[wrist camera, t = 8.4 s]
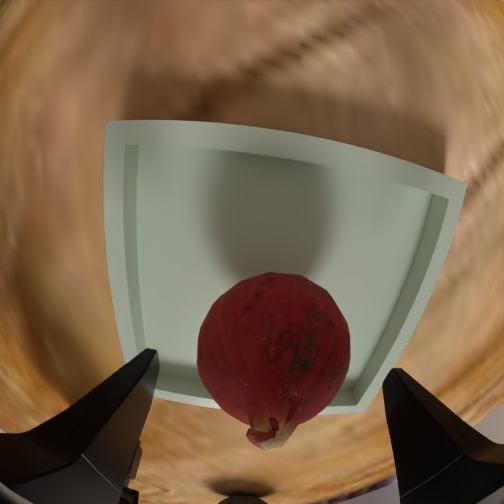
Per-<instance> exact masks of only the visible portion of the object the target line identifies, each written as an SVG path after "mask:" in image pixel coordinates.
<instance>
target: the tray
mask: <svg viewBox="0 0 504 504" xmlns="http://www.w3.org/2000/svg"><path fill="white" fill-rule="evenodd" d="M466 188H467V184H466V183H464V182H461V181H459V180H456V179H454V178H452V177H449V176H447V175H444V174H442V173H439V172H436V171H434V170H431V169H428V168H426V167H423V166H420V165H417V164H414V163H411V162H408V161H405V160H402V159H399V158H396V157H393V156H389V155H386V154H383V153H379V152H376V151H372V150H368V149H365V148H361V147H357V146H353V145H349V144H345V143H341V142H337V141H332V140H328V139H323V138H319V137H314V136H309V135H303V134H298V133H292V132H287V131H280V130H274V129H267V128H260V127H252V126H244V125H235V124H225V123H214V122H199V121H179V120H121V121H107V123H106V135H105V151H104V224H105V240H106V252H107V263H108V272H109V280H110V288H111V295H112V301H113V307H114V313H115V319H116V324H117V329H118V334H119V339H120V344H121V348H122V353H123V357H124V361H125V364H126V363H128V362H129V361H130V360H131V359H133V358H134V357H135V356H137V355H138V354H139V353H140V352H142V351H143V350H144V349H146V348H151V349H156V350H157V351H158V355H159V363H160V369H159V374H158V378H157V382H156V386H155V391H154V395H153V397H157V398H162V399H166V400H171V401H176V402H181V403H186V404H192V405H198V406H204V407H211V408H218V409H221V408H220V406H219V405H218V404H217V403H216V402H215V401H214V399H213V398H212V396H211V395H210V393H209V392H208V390H207V389H206V387H205V386H204V384H203V382H202V380H201V378H200V376H199V373H198V368H197V344H198V336H199V331H200V327H201V325H202V323H203V321H204V319H205V317H206V315H207V313H208V311H209V309H210V308H211V306H212V304H213V303H214V302H215V301H216V300H217V299H218V298H219V297H220V296H221V295H222V294H224V293H225V292H226V291H228V290H229V289H230V288H232V287H233V286H234V285H236V284H237V283H238V282H240V281H242V280H245V279H248V278H251V277H254V276H257V275H261V274H264V273H267V272H276V273H286V274H296V275H302V276H304V277H305V278H307V279H309V280H310V281H312V282H314V283H316V284H317V285H319V286H321V287H322V288H324V289H326V290H327V291H328V292H329V294H330V295H331V296H332V298H333V299H334V301H335V302H336V304H337V306H338V307H339V309H340V311H341V312H342V314H343V316H344V318H345V319H346V321H347V323H348V327H349V332H350V346H351V359H350V365H349V370H348V373H347V375H346V377H345V380H344V382H343V384H342V386H341V387H340V389H339V391H338V393H337V395H336V396H335V398H334V399H333V400H332V402H331V403H330V404H329V405H328V406H327V407H326V408H325V409H324V410H323V411H321V412H320V413H319V414H317V415H323V414H347V413H361V412H364V411H365V410H366V408H367V407H368V405H369V404H370V403H371V401H372V400H373V398H374V397H375V395H376V394H377V393H378V391H379V390H380V388H381V387H382V384H383V381H384V379H385V377H386V376H387V374H388V373H389V371H390V370H391V369H392V368H394V366H395V364H396V363H397V361H398V359H399V358H400V356H401V354H402V352H403V351H404V349H405V347H406V345H407V343H408V342H409V340H410V338H411V336H412V334H413V332H414V330H415V328H416V326H417V324H418V323H419V320H420V318H421V316H422V314H423V312H424V310H425V308H426V306H427V304H428V301H429V299H430V297H431V295H432V292H433V290H434V288H435V285H436V283H437V281H438V278H439V276H440V273H441V270H442V268H443V265H444V263H445V260H446V257H447V254H448V251H449V249H450V246H451V243H452V240H453V236H454V233H455V230H456V227H457V223H458V220H459V216H460V213H461V209H462V205H463V201H464V197H465V193H466Z"/></svg>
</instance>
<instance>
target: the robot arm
mask: <svg viewBox="0 0 504 504" xmlns="http://www.w3.org/2000/svg"><path fill="white" fill-rule="evenodd" d="M159 369H160V363H159V355H158V351H157V350H156V349H151V348H146V349H144V350H143V351H142V352H140V353H139V354H138V355H137V356H135V357H134V358H133V359H131V360H130V361H129V362H128V363H126V364H125V365H124V366H122V367H121V368H120V369H119V370H117V371H116V372H115V373H113V374H112V375H111V376H110V377H108V378H107V379H106V380H104V381H103V382H102V383H100V384H99V385H98V386H97V387H95V388H94V389H93V390H91V391H90V392H89V393H87V394H86V395H85V396H84V397H83V398H81V399H79V400H78V401H77V402H76V403H74V404H73V405H71V406H70V407H69V408H67V409H66V410H64V411H63V412H61V413H59V414H58V415H56V416H55V417H53V418H51V419H49V420H48V421H46V422H44V423H42V424H40V425H39V426H37V427H35V428H33V429H31V430H29V431H27V432H23V433H0V504H138V498H139V491H136V490H132V489H129V488H128V484H129V481H130V479H132V480H134V479H135V477H136V474H137V470H138V466H139V463H140V459H141V456H142V451H141V448H140V446H139V444H138V441H139V438H140V435H141V432H142V429H143V427H144V424H145V421H146V418H147V415H148V413H149V410H150V407H151V404H152V399H153V395H154V391H155V386H156V382H157V378H158V374H159ZM382 388H383V396H384V404H385V413H386V419H387V424H388V429H389V434H390V439H391V444H392V450H393V455H394V461H395V467H396V474H397V481H398V488H399V495H400V504H504V444H497V443H494V442H492V441H491V440H489V439H488V438H486V437H485V436H483V435H482V434H481V433H479V432H478V431H476V430H475V429H474V428H472V427H471V426H469V425H468V424H467V423H466V422H464V421H463V420H462V419H461V418H460V417H458V416H457V415H455V413H454V412H452V411H451V410H450V409H449V408H448V407H447V406H445V405H444V404H443V403H442V402H441V401H439V400H438V399H437V398H436V397H435V396H434V395H432V394H431V393H430V392H429V391H428V390H426V389H425V388H424V387H423V386H422V385H421V384H419V383H418V382H417V381H416V380H415V379H413V378H412V377H411V376H410V375H409V374H407V373H406V372H405V371H404V370H403V369H401V368H392V369H391V370H390V371H389V373H388V374H387V376H386V377H385V379H384V381H383V384H382Z"/></svg>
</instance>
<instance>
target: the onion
mask: <svg viewBox="0 0 504 504" xmlns="http://www.w3.org/2000/svg"><path fill="white" fill-rule="evenodd" d="M350 359H351V346H350V332H349V327H348V323H347V321H346V319H345V318H344V316H343V314H342V312H341V311H340V309H339V307H338V306H337V304H336V302H335V301H334V299H333V298H332V296H331V295H330V294H329V292H328V291H327V290H326V289H324V288H322V287H321V286H319V285H317V284H316V283H314V282H312V281H310V280H309V279H307V278H305V277H304V276H302V275H296V274H286V273H276V272H267V273H264V274H261V275H257V276H254V277H251V278H248V279H245V280H242V281H240V282H238V283H237V284H236V285H234V286H233V287H232V288H230V289H229V290H228V291H226V292H225V293H224V294H222V295H221V296H220V297H219V298H218V299H217V300H216V301H215V302H214V303H213V304H212V306H211V308H210V309H209V311H208V313H207V315H206V317H205V319H204V321H203V323H202V325H201V327H200V331H199V336H198V344H197V368H198V373H199V376H200V378H201V380H202V382H203V384H204V386H205V387H206V389H207V390H208V392H209V393H210V395H211V396H212V398H213V399H214V401H215V402H216V403H217V404H218V405H219V406H220V408H221V409H223V410H224V411H225V412H226V413H228V414H229V415H231V416H232V417H234V418H236V419H237V420H239V421H241V422H243V423H245V424H247V425H250V427H251V428H250V429H248V431H247V434H246V436H247V438H248V439H249V441H250V442H252V443H253V444H254V445H255V446H257V447H258V448H260V449H262V450H268V449H271V448H276V447H282V446H283V445H284V443H285V442H286V441H287V439H288V438H289V437H290V435H291V434H292V433H293V431H294V430H295V429H296V427H297V426H298V425H299V424H302V423H304V422H306V421H308V420H310V419H312V418H313V417H314V416H316V415H317V414H319V413H320V412H321V411H323V410H324V409H325V408H326V407H327V406H328V405H329V404H330V403H331V402H332V400H333V399H334V398H335V396H336V395H337V393H338V391H339V389H340V387H341V386H342V384H343V382H344V380H345V377H346V375H347V373H348V370H349V365H350Z"/></svg>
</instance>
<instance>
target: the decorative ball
mask: <svg viewBox="0 0 504 504" xmlns="http://www.w3.org/2000/svg"><path fill="white" fill-rule="evenodd" d="M218 504H267V503H266V502H265V501H263V500H261V499H259V498H257V497H254V496H249V495H236V496H232V497H228V498H226V499H224V500H222V501H221V502H219V503H218Z"/></svg>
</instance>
